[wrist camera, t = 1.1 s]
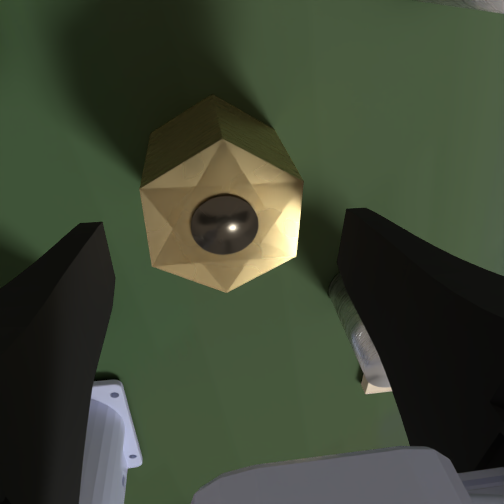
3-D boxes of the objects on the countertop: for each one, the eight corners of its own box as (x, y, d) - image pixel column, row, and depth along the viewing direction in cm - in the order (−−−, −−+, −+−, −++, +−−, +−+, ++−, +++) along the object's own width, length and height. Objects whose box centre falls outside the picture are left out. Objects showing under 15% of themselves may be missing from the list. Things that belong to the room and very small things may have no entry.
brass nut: (269, 219, 19) (293, 289, 15) (162, 225, 18) (156, 300, 14) (275, 92, 16) (308, 137, 12) (145, 95, 15) (131, 142, 11)
